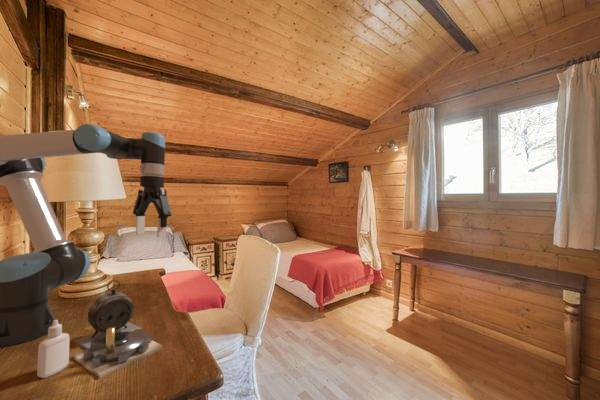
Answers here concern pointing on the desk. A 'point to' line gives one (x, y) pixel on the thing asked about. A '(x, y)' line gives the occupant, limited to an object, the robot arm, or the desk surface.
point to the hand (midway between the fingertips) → (150, 235)
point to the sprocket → (117, 346)
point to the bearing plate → (114, 365)
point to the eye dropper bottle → (53, 351)
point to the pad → (104, 335)
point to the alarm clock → (110, 311)
